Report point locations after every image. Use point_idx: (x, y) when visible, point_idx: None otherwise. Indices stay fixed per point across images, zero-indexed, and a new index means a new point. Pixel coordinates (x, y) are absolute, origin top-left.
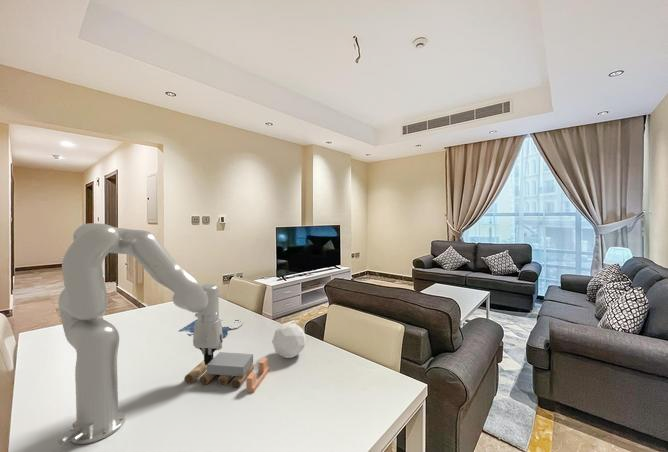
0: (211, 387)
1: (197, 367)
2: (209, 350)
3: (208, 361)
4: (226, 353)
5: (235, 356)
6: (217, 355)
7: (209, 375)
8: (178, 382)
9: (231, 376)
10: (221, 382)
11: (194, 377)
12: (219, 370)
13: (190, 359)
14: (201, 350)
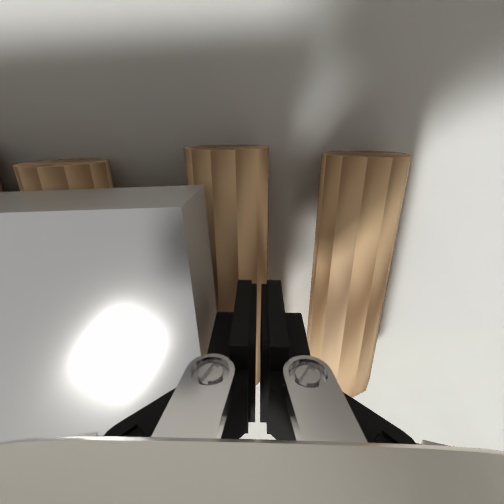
0: (148, 122)
1: (358, 280)
2: (202, 414)
3: (235, 300)
4: None
5: (3, 403)
6: None
7: None
8: (445, 148)
9: None
10: (77, 160)
11: (324, 171)
12: (52, 196)
13: (480, 410)
14: (369, 416)
